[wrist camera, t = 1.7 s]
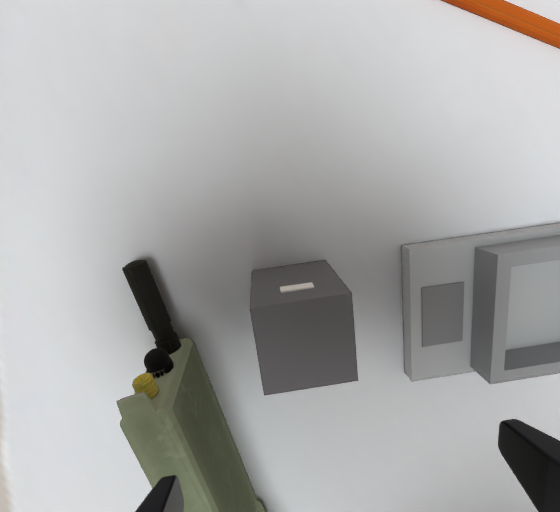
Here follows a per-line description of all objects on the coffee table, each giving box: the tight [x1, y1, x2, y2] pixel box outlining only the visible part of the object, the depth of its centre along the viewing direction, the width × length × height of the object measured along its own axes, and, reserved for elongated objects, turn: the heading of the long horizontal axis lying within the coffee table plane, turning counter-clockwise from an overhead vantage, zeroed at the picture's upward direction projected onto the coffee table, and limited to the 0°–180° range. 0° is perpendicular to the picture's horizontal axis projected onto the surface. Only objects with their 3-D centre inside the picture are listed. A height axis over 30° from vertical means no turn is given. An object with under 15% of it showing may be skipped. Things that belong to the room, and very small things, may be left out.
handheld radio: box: [116, 260, 265, 512], centre depth 18 cm, size 7×3×25 cm
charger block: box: [250, 260, 358, 395], centre depth 17 cm, size 5×4×6 cm
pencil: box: [442, 0, 560, 48], centre depth 16 cm, size 1×19×1 cm, turn 74°
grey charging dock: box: [402, 223, 560, 384], centre depth 19 cm, size 9×14×3 cm, turn 97°
